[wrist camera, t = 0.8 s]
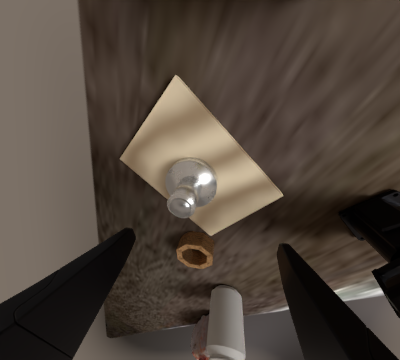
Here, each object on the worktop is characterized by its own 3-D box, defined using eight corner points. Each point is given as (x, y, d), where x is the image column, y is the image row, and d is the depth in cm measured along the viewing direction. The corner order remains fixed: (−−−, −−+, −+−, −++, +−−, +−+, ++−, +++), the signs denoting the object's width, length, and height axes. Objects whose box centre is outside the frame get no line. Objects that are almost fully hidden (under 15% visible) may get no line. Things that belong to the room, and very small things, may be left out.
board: (280, 191, 20) (283, 195, 19) (211, 230, 27) (210, 236, 26) (179, 76, 16) (175, 74, 15) (124, 156, 22) (119, 158, 21)
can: (219, 299, 39) (215, 371, 28) (206, 284, 36) (197, 357, 26) (245, 298, 36) (252, 377, 26) (234, 282, 33) (236, 362, 23)
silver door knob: (228, 182, 20) (227, 213, 14) (194, 207, 23) (183, 240, 18) (191, 146, 18) (175, 164, 13) (160, 178, 22) (137, 204, 16)
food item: (213, 329, 49) (210, 376, 41) (192, 320, 49) (185, 366, 41) (231, 316, 43) (232, 370, 34) (207, 307, 42) (201, 358, 34)
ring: (220, 247, 28) (219, 261, 26) (197, 258, 31) (195, 271, 29) (196, 226, 27) (193, 239, 24) (175, 240, 30) (170, 253, 27)
